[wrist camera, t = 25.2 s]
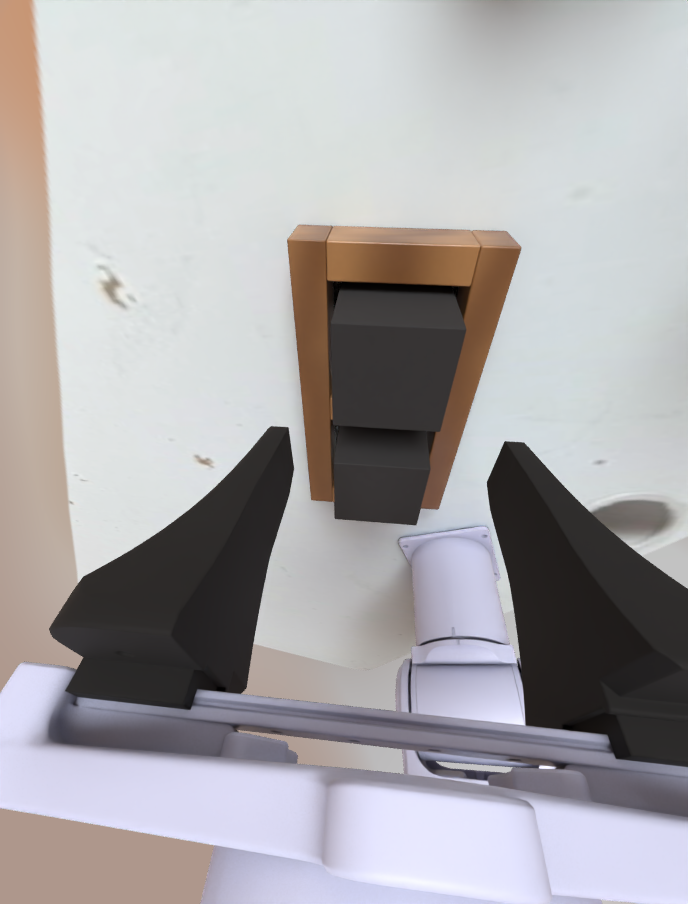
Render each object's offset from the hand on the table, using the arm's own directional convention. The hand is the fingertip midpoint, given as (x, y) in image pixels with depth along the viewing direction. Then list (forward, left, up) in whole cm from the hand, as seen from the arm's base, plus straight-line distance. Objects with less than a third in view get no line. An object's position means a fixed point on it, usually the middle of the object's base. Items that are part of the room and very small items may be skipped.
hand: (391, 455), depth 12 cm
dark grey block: (-7, +3, -10) cm, 13 cm away
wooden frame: (-4, +2, -10) cm, 11 cm away
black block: (0, 0, -10) cm, 10 cm away
